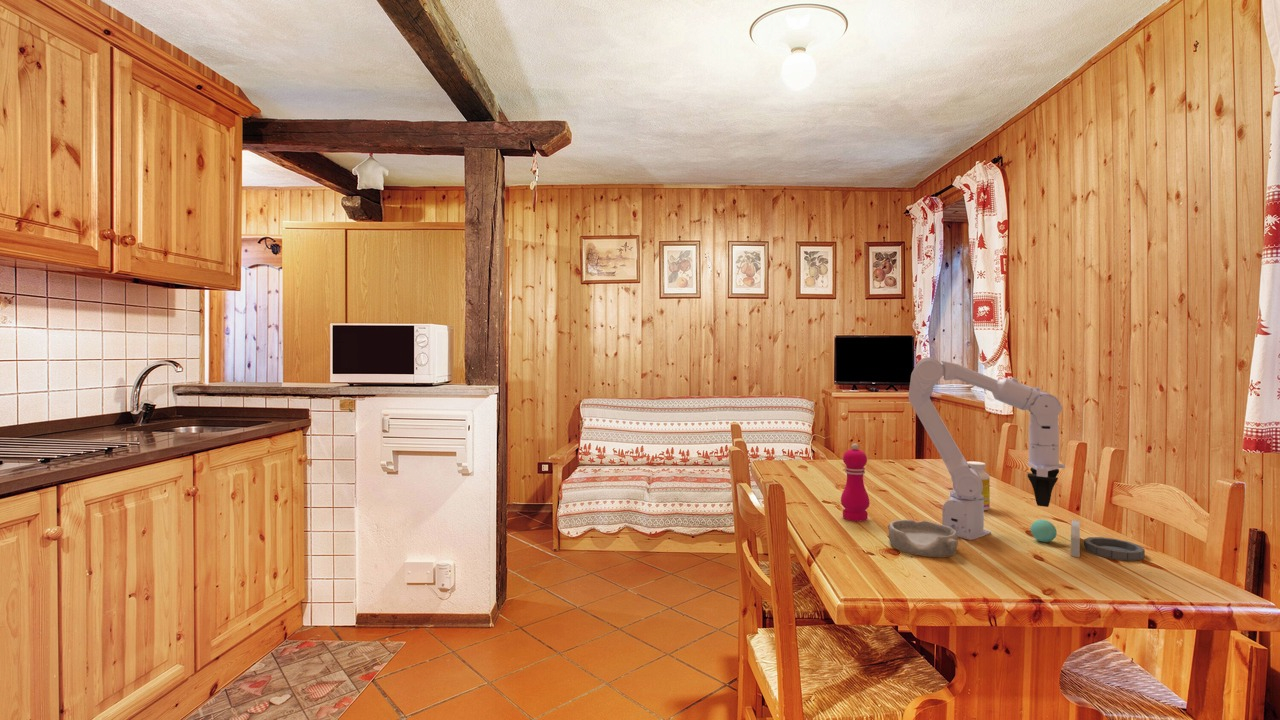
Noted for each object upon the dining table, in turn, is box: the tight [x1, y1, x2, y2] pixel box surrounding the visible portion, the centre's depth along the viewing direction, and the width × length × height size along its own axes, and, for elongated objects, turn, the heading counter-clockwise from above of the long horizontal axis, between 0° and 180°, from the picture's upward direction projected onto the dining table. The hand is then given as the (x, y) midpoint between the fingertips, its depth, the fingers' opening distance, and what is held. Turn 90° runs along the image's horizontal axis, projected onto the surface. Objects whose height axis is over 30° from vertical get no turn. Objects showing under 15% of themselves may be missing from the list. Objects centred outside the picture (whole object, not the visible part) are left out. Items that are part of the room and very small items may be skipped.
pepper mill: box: [840, 443, 870, 522], centre depth 154 cm, size 7×7×20 cm
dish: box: [887, 519, 959, 558], centre depth 131 cm, size 14×14×5 cm
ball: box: [1030, 519, 1057, 543], centre depth 134 cm, size 5×5×5 cm
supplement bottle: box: [967, 460, 991, 511], centre depth 162 cm, size 7×7×13 cm
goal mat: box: [1083, 536, 1146, 562], centre depth 126 cm, size 10×10×2 cm
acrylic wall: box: [1070, 519, 1081, 558], centre depth 131 cm, size 16×2×4 cm, turn 143°
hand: (1043, 502), depth 134 cm, fingers open, 7 cm apart
